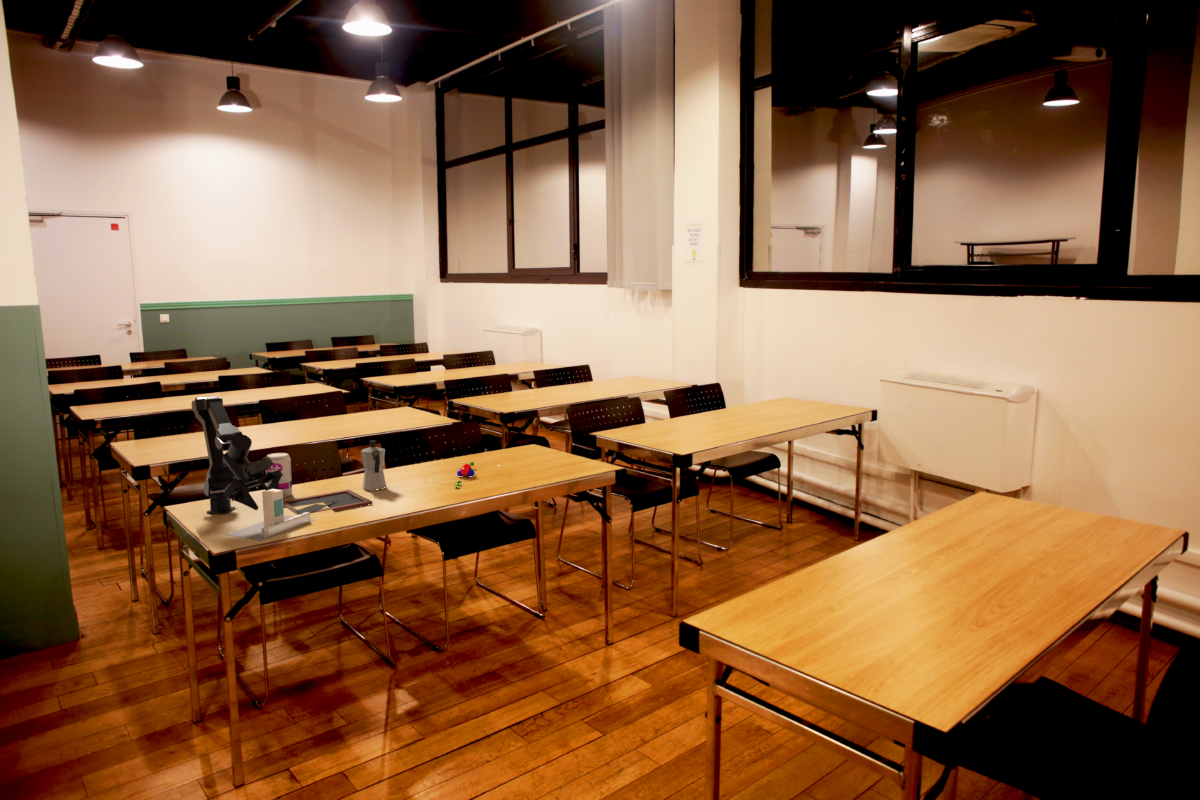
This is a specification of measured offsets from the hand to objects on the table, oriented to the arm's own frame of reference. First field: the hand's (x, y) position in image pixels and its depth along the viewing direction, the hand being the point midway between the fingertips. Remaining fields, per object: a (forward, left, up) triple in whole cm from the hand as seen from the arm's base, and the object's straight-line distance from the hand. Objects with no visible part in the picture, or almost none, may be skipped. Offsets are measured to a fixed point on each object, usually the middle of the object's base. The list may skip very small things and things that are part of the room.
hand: (269, 505), depth 232 cm
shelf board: (0, +1, -8) cm, 8 cm away
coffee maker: (-50, +13, -8) cm, 53 cm away
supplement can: (-37, -17, -8) cm, 42 cm away
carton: (+1, +1, -7) cm, 7 cm away
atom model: (-71, +42, -8) cm, 83 cm away
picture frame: (-28, +4, -9) cm, 30 cm away
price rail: (+2, +6, -7) cm, 10 cm away
